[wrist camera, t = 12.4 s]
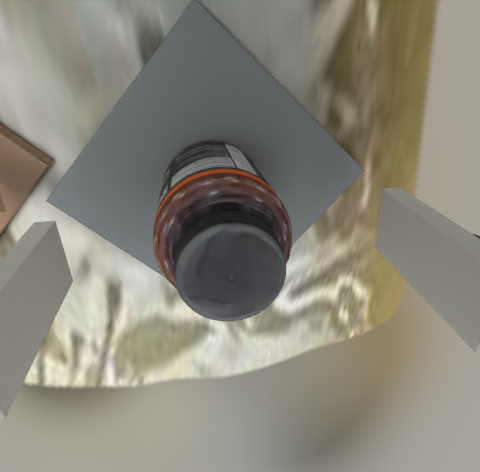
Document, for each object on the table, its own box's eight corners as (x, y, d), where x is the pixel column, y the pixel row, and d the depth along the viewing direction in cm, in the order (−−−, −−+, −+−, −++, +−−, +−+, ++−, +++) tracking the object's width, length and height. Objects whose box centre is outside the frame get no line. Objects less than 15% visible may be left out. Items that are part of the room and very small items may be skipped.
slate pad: (193, 1, 20) (194, -2, 19) (358, 166, 25) (364, 170, 24) (51, 195, 23) (46, 200, 23) (222, 307, 29) (223, 315, 28)
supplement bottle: (259, 226, 25) (311, 337, 15) (168, 234, 24) (157, 356, 14) (257, 134, 23) (317, 191, 12) (156, 141, 22) (131, 206, 12)
